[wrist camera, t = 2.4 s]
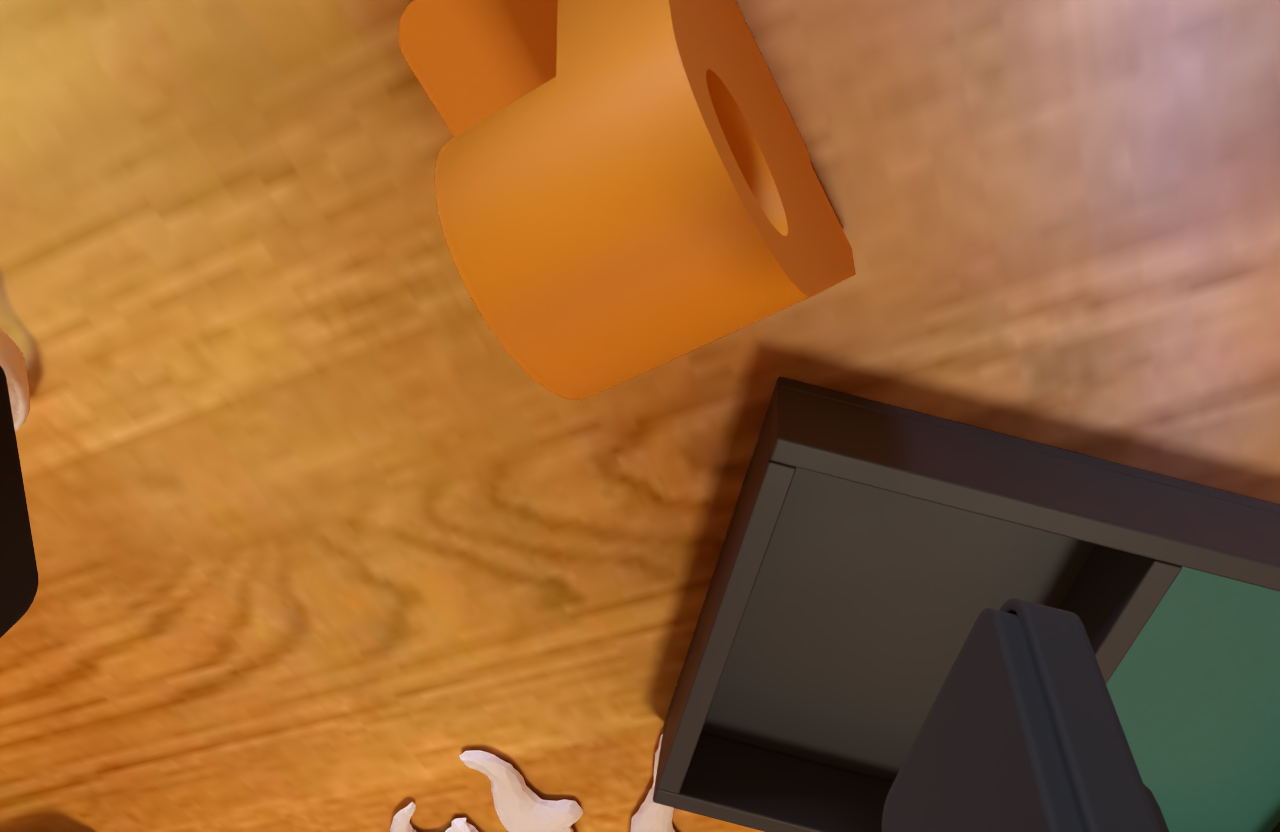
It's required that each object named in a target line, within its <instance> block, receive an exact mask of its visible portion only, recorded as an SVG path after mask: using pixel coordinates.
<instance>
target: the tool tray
mask: <svg viewBox="0 0 1280 832" xmlns="http://www.w3.org/2000/svg"><path fill="white" fill-rule="evenodd" d="M1013 598H1017V599H1021V600H1025V601H1029V602H1033V603H1037V604H1041V605H1045V606H1049V607H1053V608H1057V609H1061V610H1065V611H1069V612H1073V613H1074V614H1076V615H1078V616H1079V618H1080V619H1081V621H1082V623H1083V625H1084V627H1085V630H1086V633H1087V635H1088V638H1089V641H1090V643H1091V646H1092V649H1093V651H1094V654H1095V657H1096V659H1097V662H1098V665H1099V667H1100V670H1101V673H1102V675H1103V678H1104V681H1105V683H1106V686H1107V688H1108V691H1109V694H1110V696H1111V699H1112V702H1113V704H1114V707H1115V710H1116V712H1117V715H1118V718H1119V720H1120V723H1121V726H1122V728H1123V731H1124V734H1125V736H1126V739H1127V742H1128V744H1129V747H1130V750H1131V752H1132V755H1133V758H1134V760H1135V763H1136V766H1137V768H1138V771H1139V774H1140V776H1141V779H1142V782H1143V784H1144V785H1146V786H1147V787H1148V788H1149V789H1150V790H1151V792H1152V794H1153V795H1154V797H1155V799H1156V801H1157V803H1158V805H1159V807H1160V809H1161V812H1162V814H1163V817H1164V819H1165V822H1166V825H1167V827H1168V830H1169V832H1280V505H1278V504H1274V503H1270V502H1266V501H1262V500H1258V499H1254V498H1250V497H1246V496H1242V495H1239V494H1235V493H1231V492H1227V491H1223V490H1219V489H1215V488H1211V487H1207V486H1203V485H1199V484H1196V483H1192V482H1188V481H1184V480H1180V479H1176V478H1172V477H1168V476H1164V475H1160V474H1157V473H1153V472H1149V471H1145V470H1141V469H1137V468H1133V467H1129V466H1125V465H1121V464H1117V463H1114V462H1110V461H1106V460H1102V459H1098V458H1094V457H1090V456H1086V455H1082V454H1078V453H1074V452H1071V451H1067V450H1063V449H1059V448H1055V447H1051V446H1047V445H1043V444H1039V443H1035V442H1032V441H1028V440H1024V439H1020V438H1016V437H1012V436H1008V435H1004V434H1000V433H996V432H992V431H989V430H985V429H981V428H977V427H973V426H969V425H965V424H961V423H957V422H953V421H949V420H946V419H942V418H938V417H934V416H930V415H926V414H922V413H918V412H914V411H910V410H907V409H903V408H899V407H895V406H891V405H887V404H883V403H879V402H875V401H871V400H867V399H864V398H860V397H856V396H852V395H848V394H844V393H840V392H836V391H832V390H828V389H824V388H821V387H817V386H813V385H809V384H805V383H801V382H797V381H793V380H789V379H785V378H782V377H779V378H778V380H777V383H776V386H775V389H774V392H773V395H772V398H771V401H770V404H769V407H768V410H767V413H766V416H765V419H764V422H763V425H762V428H761V431H760V434H759V437H758V440H757V444H756V447H755V450H754V453H753V456H752V459H751V462H750V465H749V468H748V471H747V474H746V477H745V480H744V483H743V486H742V489H741V492H740V495H739V498H738V501H737V504H736V507H735V510H734V513H733V516H732V519H731V522H730V525H729V528H728V531H727V535H726V538H725V541H724V544H723V547H722V550H721V553H720V556H719V559H718V562H717V565H716V568H715V571H714V574H713V577H712V580H711V583H710V586H709V589H708V592H707V595H706V598H705V601H704V604H703V607H702V610H701V613H700V616H699V619H698V622H697V626H696V629H695V632H694V635H693V638H692V641H691V644H690V647H689V650H688V653H687V656H686V659H685V662H684V665H683V668H682V671H681V674H680V677H679V680H678V683H677V686H676V689H675V692H674V695H673V698H672V701H671V704H670V707H669V710H668V714H667V717H666V720H665V723H664V727H663V733H662V734H663V736H662V741H661V747H660V754H659V761H658V767H657V774H656V781H655V787H654V794H653V802H654V803H657V804H661V805H665V806H669V807H673V808H677V809H680V810H684V811H688V812H692V813H696V814H700V815H703V816H707V817H711V818H715V819H719V820H723V821H726V822H730V823H734V824H738V825H742V826H746V827H749V828H753V829H757V830H761V831H765V832H882V815H883V809H884V804H885V801H886V797H887V795H888V792H889V790H890V788H891V786H892V784H893V782H894V780H895V778H896V776H897V774H898V772H899V770H900V768H901V766H902V764H903V763H904V761H905V759H906V757H907V755H908V753H909V751H910V749H911V747H912V745H913V743H914V741H915V739H916V737H917V735H918V733H919V731H920V729H921V727H922V725H923V723H924V721H925V719H926V717H927V715H928V713H929V712H930V710H931V708H932V706H933V704H934V702H935V700H936V698H937V696H938V694H939V692H940V690H941V688H942V686H943V684H944V682H945V680H946V678H947V676H948V674H949V672H950V670H951V668H952V666H953V664H954V662H955V661H956V659H957V657H958V655H959V653H960V651H961V649H962V647H963V645H964V643H965V641H966V639H967V637H968V635H969V633H970V631H971V629H972V627H973V625H974V623H975V621H976V619H977V618H978V616H979V615H980V613H981V612H982V611H983V610H984V609H987V608H991V609H995V610H1000V608H1001V607H1002V605H1003V604H1004V603H1005V602H1007V601H1008V600H1009V599H1013Z"/></svg>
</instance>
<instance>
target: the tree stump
mask: <svg viewBox="0 0 1280 832" xmlns="http://www.w3.org/2000/svg"><path fill="white" fill-rule="evenodd" d="M662 736H663V734H662V735H661V736H660V741H659V747H658V749H657V751H656V753H655V763H654V783H653V785H652V788H651V789H650V790H649V792H648V795H647V797H646V799H645V801H644V802H643V803H642V804H641V806H640V809H639V810H638V811H637V812H636V813H635V815H634V816H633V817H632V820H631V831H630V832H675V830H674V829H673V825H672V818H673V811H674V808H673V807H669V806H665V805H661V804H657V803H654V802H653V794H654V787H655V781H656V774H657V767H658V761H659V754H660V747H661V741H662ZM460 759H461V761H462V762H463V763H464V764H465V765H466V766H467V767H469V768H472V769H475V770H478V771H480V772H482V773H483V774H485V775H487V777H488V778H489V779H490V781H491V792H492V794H493V798H494V806H495V809H496V812H497V814H498V817H499V819H500V821H501V823H502V824H503V826H504V827H505V828H506V830H507V831H508V832H574V830H573V829H572V828H571V825H572V824H574V823H575V822H576V821H577V820H579V819H580V817H581V816H582V815H583V813H584V812H583V811H582V810H581V807H580V806H579V805H578V803H577V802H576V801H572V800H566V799H563V800H559V801H552V800H542V799H541V798H539V797H538V796H537V795H536V794H535V793H534V792H533V791H532V790H531V789H529V788H528V787H527V786H526V784H525V781H524V778H523V777H522V775H521V774H520V773H519V772H518V771H517V770H516V769H514V768H513V766H512V765H511V764H510V763H508V762H505V761H503V760H501V759H500V758H498V757H497V756H495V755H493V754H490V753H488V752H484V751H480V750H472V751H465V752H464V753H462V754H461V755H460ZM415 807H416V805H415V804H414V803H413V802H411V803H410V804H409V805H408V806H406V807H405V808H403V809H402V810H400V811H399V812H398V813H397V814H396V815H395V816H394V817H393V821H392V825H391V829H390V832H417V831H416V830H414V829H413V828H412V826H411V824H410V818H411V817H412V815H413V813H414V810H415ZM445 832H478V831H477V829H476V828H475V827H474V826H473V825H471V824H469V823H467V822H466V818H456V819H454V820H453V821H452V827H450V828H448V829H447V830H446V831H445Z"/></svg>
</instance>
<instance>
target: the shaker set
mask: <svg viewBox="0 0 1280 832" xmlns="http://www.w3.org/2000/svg"><path fill="white" fill-rule="evenodd" d="M0 366H1V367H2V368H3V370H4V372H5V375H6V379H7V385H8V391H9V398H10V404H11V410H12V416H13V423H14V429H15V431H17V430H18V429H19V428H20V427H21V426H22V425H23V424H24V422H25V421H26V418H27V416H28V413H29V409H30V393H29V385H28V379H27V373H26V367H25V361H24V357H23V354H22V352H21V351H20V349H19V348H18V346H17V345H16V344H15V343H14V341H13V340H12V339H11V338H10V337H9V336H8V335H7V334H6V333H5V332H4V331H3V330H2V329H1V328H0Z"/></svg>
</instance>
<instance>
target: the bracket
mask: <svg viewBox="0 0 1280 832" xmlns="http://www.w3.org/2000/svg"><path fill="white" fill-rule="evenodd" d="M399 43H400V47H401V51H402V53H403V56H404V58H405V60H406V61H407V63H408V65H409V66H410V68H411V69H412V71H413V73H414V74H415V76H416V77H417V79H418V80H419V82H420V84H421V85H422V87H423V88H424V90H425V91H426V93H427V95H428V96H429V98H430V99H431V101H432V103H433V104H434V106H435V107H436V109H437V110H438V112H439V114H440V115H441V117H442V118H443V120H444V121H445V123H446V125H447V126H448V128H449V129H450V131H451V133H452V134H453V136H454V138H452V139H451V140H449V141H448V142H447V143H446V144H444V146H443V147H442V149H441V150H440V152H439V155H438V157H437V161H436V166H435V194H436V202H437V207H438V212H439V217H440V221H441V225H442V228H443V232H444V235H445V238H446V241H447V244H448V247H449V250H450V253H451V255H452V258H453V260H454V263H455V265H456V267H457V270H458V272H459V274H460V276H461V279H462V281H463V283H464V285H465V287H466V289H467V291H468V293H469V294H470V296H471V298H472V300H473V302H474V304H475V305H476V307H477V309H478V310H479V312H480V314H481V315H482V317H483V319H484V320H485V322H486V323H487V325H488V326H489V328H490V329H491V331H492V332H493V334H494V335H495V336H496V338H497V339H498V341H499V342H500V343H501V345H502V346H503V347H504V348H505V350H506V351H507V352H508V353H509V355H510V356H511V357H512V358H513V359H514V360H515V361H516V362H517V364H518V365H519V366H520V367H521V368H522V369H523V370H524V371H525V372H526V373H527V374H528V375H529V376H531V377H532V378H533V379H534V380H535V381H536V382H538V383H539V384H540V385H542V386H543V387H544V388H546V389H547V390H549V391H550V392H552V393H554V394H556V395H558V396H560V397H563V398H565V399H570V400H583V399H586V398H588V397H591V396H593V395H595V394H597V393H599V392H602V391H604V390H606V389H608V388H611V387H613V386H615V385H617V384H619V383H622V382H624V381H626V380H628V379H630V378H633V377H635V376H637V375H639V374H641V373H644V372H646V371H648V370H650V369H652V368H655V367H657V366H659V365H661V364H664V363H666V362H668V361H670V360H672V359H675V358H677V357H679V356H681V355H683V354H686V353H688V352H690V351H692V350H694V349H697V348H699V347H701V346H703V345H706V344H708V343H710V342H712V341H714V340H717V339H719V338H721V337H723V336H725V335H728V334H730V333H732V332H734V331H736V330H739V329H741V328H743V327H745V326H747V325H750V324H752V323H754V322H756V321H759V320H761V319H763V318H765V317H767V316H770V315H772V314H774V313H776V312H778V311H781V310H783V309H785V308H787V307H789V306H792V305H794V304H796V303H798V302H800V301H803V300H805V299H807V298H809V297H812V296H814V295H816V294H817V293H819V292H821V291H823V290H825V289H827V288H829V287H831V286H833V285H835V284H837V283H839V282H841V281H843V280H845V279H847V278H849V277H851V276H853V275H855V274H856V273H855V267H854V260H853V253H852V248H851V246H850V244H849V242H848V240H847V238H846V236H845V234H844V232H843V229H842V227H841V225H840V223H839V221H838V219H837V217H836V215H835V213H834V211H833V209H832V207H831V205H830V203H829V201H828V199H827V197H826V194H825V192H824V190H823V188H822V186H821V184H820V182H819V180H818V178H817V176H816V174H815V172H814V170H813V168H812V166H811V164H810V154H809V152H808V150H807V148H806V146H805V144H804V142H803V140H802V138H801V135H800V133H799V131H798V129H797V127H796V125H795V123H794V121H793V119H792V117H791V115H790V113H789V111H788V109H787V107H786V104H785V102H784V100H783V98H782V96H781V94H780V92H779V90H778V88H777V86H776V84H775V82H774V80H773V78H772V76H771V73H770V71H769V69H768V67H767V65H766V63H765V61H764V59H763V57H762V55H761V53H760V51H759V49H758V47H757V45H756V42H755V40H754V38H753V36H752V34H751V32H750V30H749V28H748V26H747V24H746V22H745V20H744V18H743V16H742V14H741V11H740V9H739V7H738V5H737V3H736V1H735V0H414V1H413V2H411V3H410V4H409V6H408V7H407V8H406V10H405V11H404V13H403V15H402V17H401V20H400V24H399Z"/></svg>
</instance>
